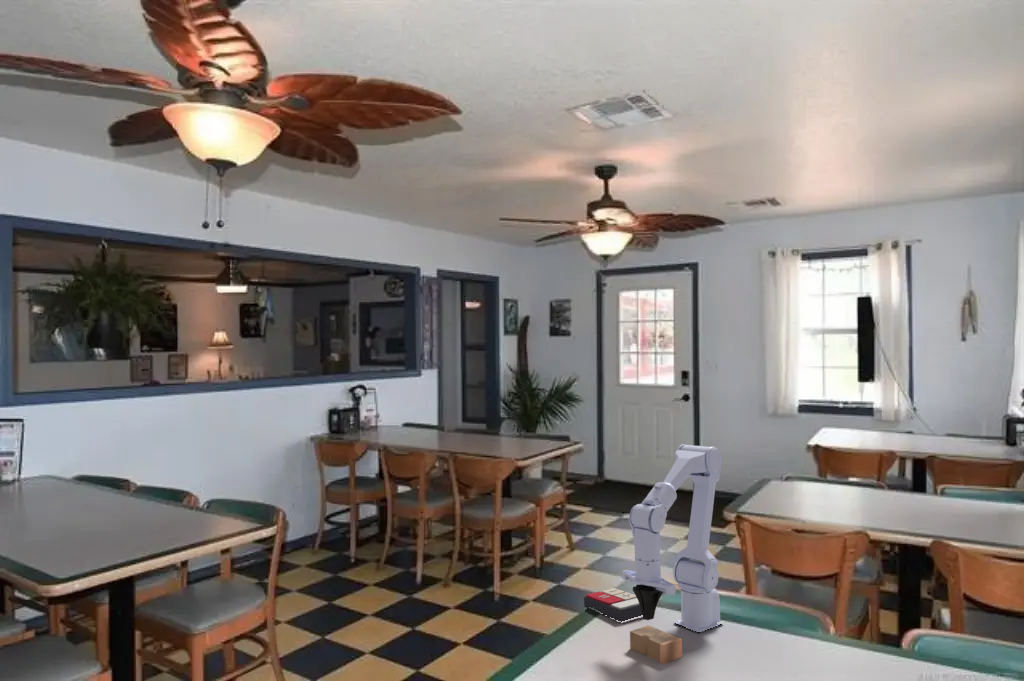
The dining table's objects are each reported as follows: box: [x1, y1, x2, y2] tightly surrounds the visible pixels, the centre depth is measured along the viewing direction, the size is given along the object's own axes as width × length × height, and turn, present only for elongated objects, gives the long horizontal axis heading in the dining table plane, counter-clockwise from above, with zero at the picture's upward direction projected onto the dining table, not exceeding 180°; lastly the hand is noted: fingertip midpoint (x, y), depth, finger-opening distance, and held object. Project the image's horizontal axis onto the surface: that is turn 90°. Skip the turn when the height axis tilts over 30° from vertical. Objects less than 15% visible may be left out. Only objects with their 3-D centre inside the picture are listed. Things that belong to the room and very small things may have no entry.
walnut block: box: [629, 624, 683, 664], centre depth 155 cm, size 6×4×10 cm
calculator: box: [583, 587, 642, 622], centre depth 182 cm, size 11×4×15 cm
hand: (648, 618), depth 157 cm, fingers closed
